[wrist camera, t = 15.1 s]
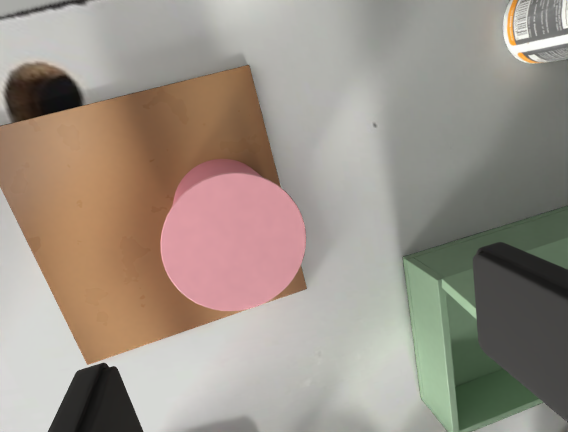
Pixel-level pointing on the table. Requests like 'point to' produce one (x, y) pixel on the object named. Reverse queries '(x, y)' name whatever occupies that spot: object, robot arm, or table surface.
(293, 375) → the table surface
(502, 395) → the chest
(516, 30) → the pill bottle
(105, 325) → the board
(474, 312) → the lid
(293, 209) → the pink cylinder
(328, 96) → the table surface
